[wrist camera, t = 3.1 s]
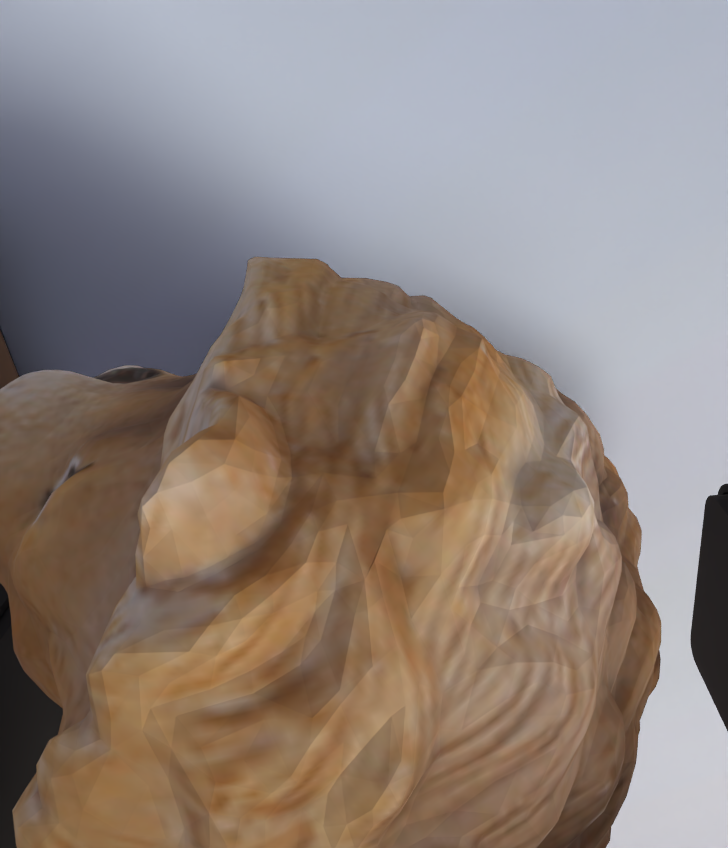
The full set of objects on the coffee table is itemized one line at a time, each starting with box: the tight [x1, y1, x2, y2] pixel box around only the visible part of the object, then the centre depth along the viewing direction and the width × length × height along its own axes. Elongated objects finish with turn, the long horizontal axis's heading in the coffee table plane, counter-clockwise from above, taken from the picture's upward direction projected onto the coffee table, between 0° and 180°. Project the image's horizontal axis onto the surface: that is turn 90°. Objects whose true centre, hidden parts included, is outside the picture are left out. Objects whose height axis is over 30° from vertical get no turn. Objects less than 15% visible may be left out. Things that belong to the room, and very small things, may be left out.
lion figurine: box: [0, 257, 661, 848], centre depth 9 cm, size 15×5×9 cm, turn 8°
